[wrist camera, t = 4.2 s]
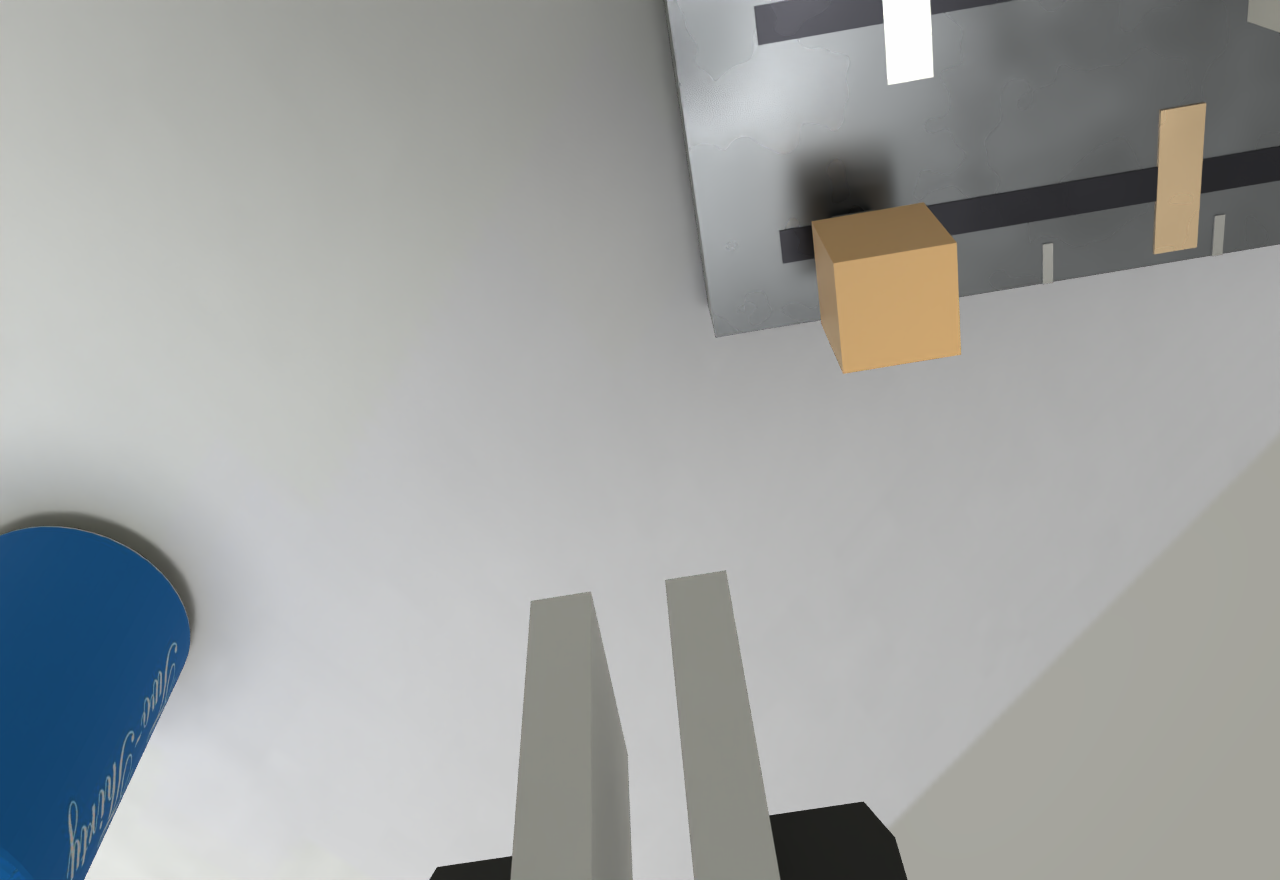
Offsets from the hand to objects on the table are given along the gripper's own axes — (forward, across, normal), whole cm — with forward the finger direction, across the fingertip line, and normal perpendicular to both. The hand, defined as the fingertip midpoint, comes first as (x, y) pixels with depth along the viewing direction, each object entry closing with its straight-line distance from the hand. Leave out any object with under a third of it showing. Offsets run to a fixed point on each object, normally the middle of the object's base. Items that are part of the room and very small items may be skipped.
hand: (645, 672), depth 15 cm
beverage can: (+17, -17, -8) cm, 25 cm away
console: (+16, +10, +2) cm, 19 cm away
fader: (+14, +6, 0) cm, 15 cm away
